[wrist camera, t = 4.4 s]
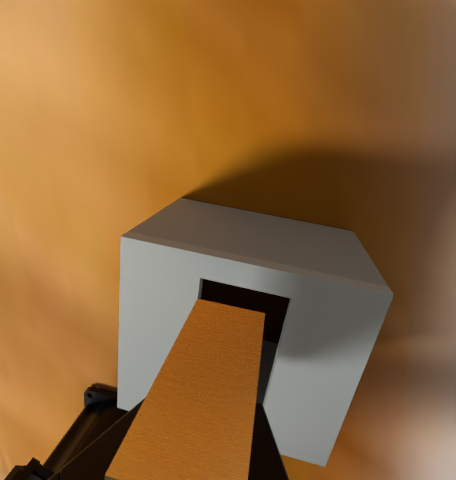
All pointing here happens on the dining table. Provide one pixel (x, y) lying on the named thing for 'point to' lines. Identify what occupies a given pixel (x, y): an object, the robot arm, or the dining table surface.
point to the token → (199, 402)
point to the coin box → (264, 280)
